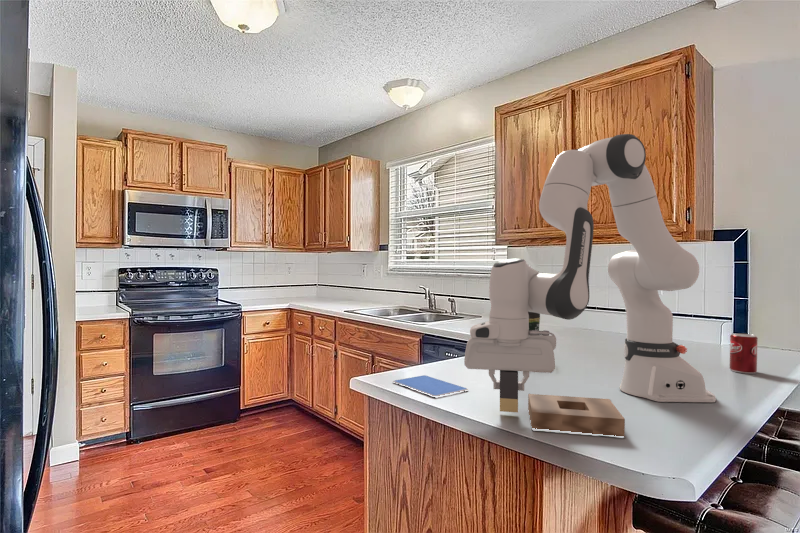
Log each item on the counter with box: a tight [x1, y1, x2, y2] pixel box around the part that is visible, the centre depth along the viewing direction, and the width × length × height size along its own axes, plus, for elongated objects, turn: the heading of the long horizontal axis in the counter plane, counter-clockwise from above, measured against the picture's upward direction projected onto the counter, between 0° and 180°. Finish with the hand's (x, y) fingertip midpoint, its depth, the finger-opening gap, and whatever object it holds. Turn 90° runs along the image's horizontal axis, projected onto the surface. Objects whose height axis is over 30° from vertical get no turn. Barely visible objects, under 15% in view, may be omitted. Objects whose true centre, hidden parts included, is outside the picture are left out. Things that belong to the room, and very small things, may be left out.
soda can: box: [729, 332, 759, 375], centre depth 155 cm, size 7×7×12 cm
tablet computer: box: [392, 374, 469, 396], centre depth 133 cm, size 19×13×1 cm, turn 36°
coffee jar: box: [528, 312, 541, 331], centre depth 173 cm, size 10×8×19 cm
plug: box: [499, 370, 519, 413], centre depth 109 cm, size 4×4×12 cm
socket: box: [527, 393, 626, 437], centre depth 104 cm, size 18×14×4 cm
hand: (508, 389), depth 109 cm, fingers closed on plug, 4 cm apart
